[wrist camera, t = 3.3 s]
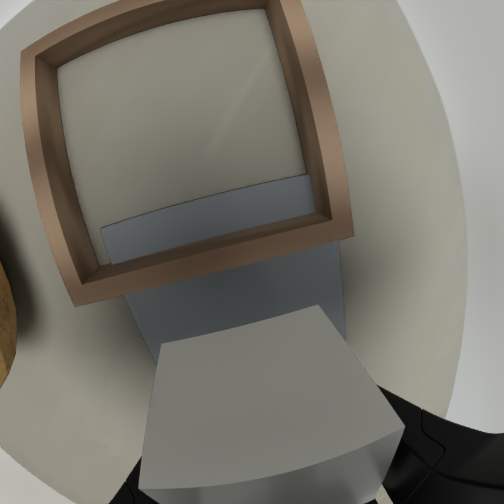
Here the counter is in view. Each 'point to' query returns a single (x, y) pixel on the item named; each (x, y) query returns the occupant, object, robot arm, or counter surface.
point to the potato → (6, 327)
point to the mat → (231, 280)
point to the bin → (202, 252)
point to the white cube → (267, 418)
